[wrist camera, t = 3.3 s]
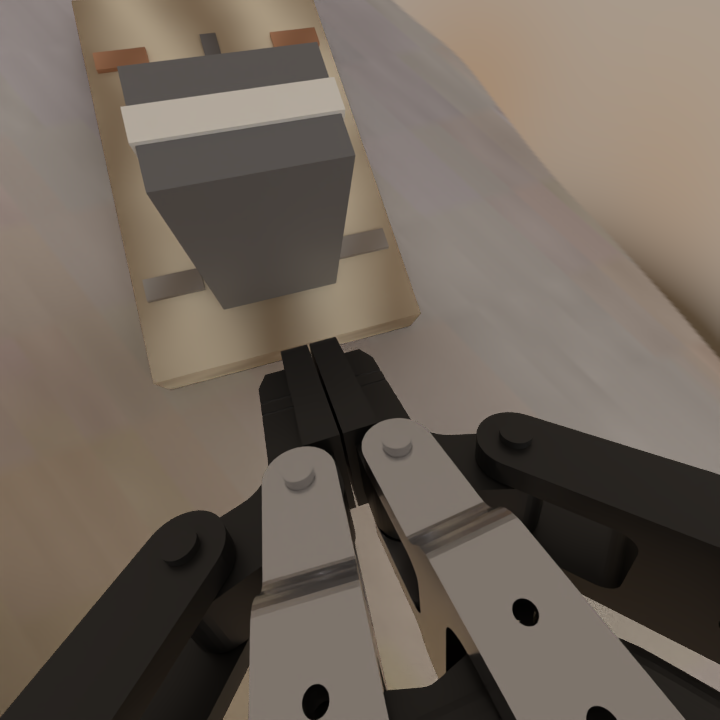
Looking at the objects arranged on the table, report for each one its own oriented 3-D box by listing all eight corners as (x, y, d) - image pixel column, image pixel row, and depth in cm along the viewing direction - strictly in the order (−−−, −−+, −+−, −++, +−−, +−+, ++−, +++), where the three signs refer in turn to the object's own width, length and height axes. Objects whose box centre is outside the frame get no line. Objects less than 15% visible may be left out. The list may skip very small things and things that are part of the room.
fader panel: (170, 389, 18) (151, 382, 16) (93, 41, 21) (69, -4, 19) (410, 325, 20) (422, 311, 18) (306, 17, 23) (305, -26, 21)
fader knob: (221, 310, 16) (139, 190, 9) (203, 237, 17) (110, 62, 9) (338, 282, 17) (360, 151, 10) (316, 214, 18) (321, 37, 10)
